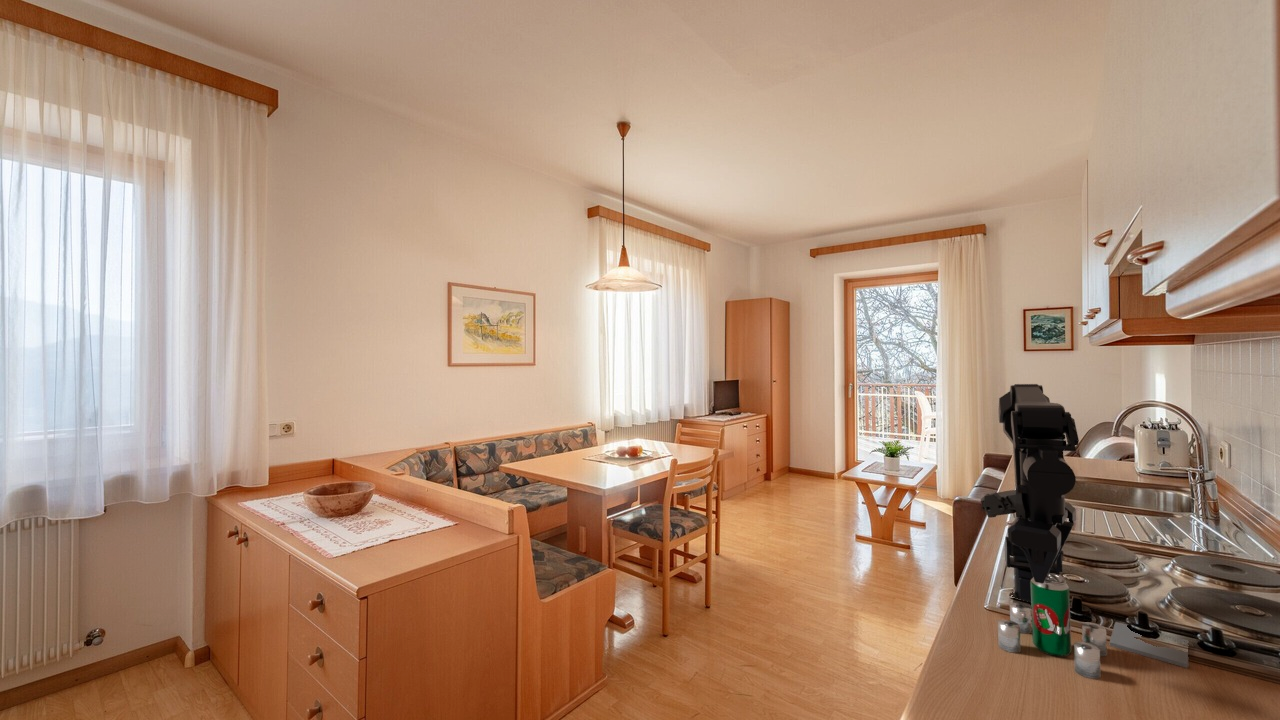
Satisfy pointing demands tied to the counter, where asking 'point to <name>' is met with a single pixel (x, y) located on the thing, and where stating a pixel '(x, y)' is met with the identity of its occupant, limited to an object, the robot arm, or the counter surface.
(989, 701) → the counter surface
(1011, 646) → the spacer posts
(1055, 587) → the soda can
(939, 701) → the counter surface
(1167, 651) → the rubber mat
